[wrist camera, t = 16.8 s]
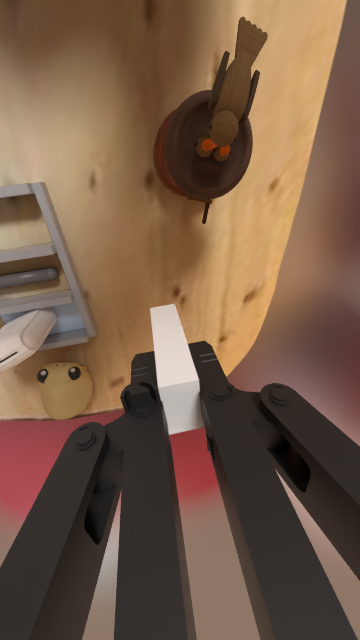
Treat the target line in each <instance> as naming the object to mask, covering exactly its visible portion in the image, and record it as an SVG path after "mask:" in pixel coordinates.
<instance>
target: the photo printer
mask: <svg viewBox="0 0 360 640" xmlns="http://www.w3.org/2000/svg"><path fill="white" fill-rule="evenodd" d="M56 321H57V318H56V313H55V311H54V310H53V309H52V308H51V307H45V308H39V309H33V310H30V311H28V312H26V313H24V314H22V315H21V316H19V317H17V318H15V319H14V320H12V321H10V322H9V323H7V324H6V325H5V326H3V327H2V328H1V329H0V373H2V372H4V371H6V370H8V369H10V368H12V367H14V366H16V365H17V364H19V363H21V362H22V361H24V360H25V359H27V358H28V357H30V356H31V355H33V354H34V353H35V352H36V351H37V350H38V349H39V348H40V346H41V345H42V343H43V341H44V340H45V338H46V337H47V335H48V334H49V332H50V330H51V329H52V327H53V326H54V324H55V322H56Z"/></svg>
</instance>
